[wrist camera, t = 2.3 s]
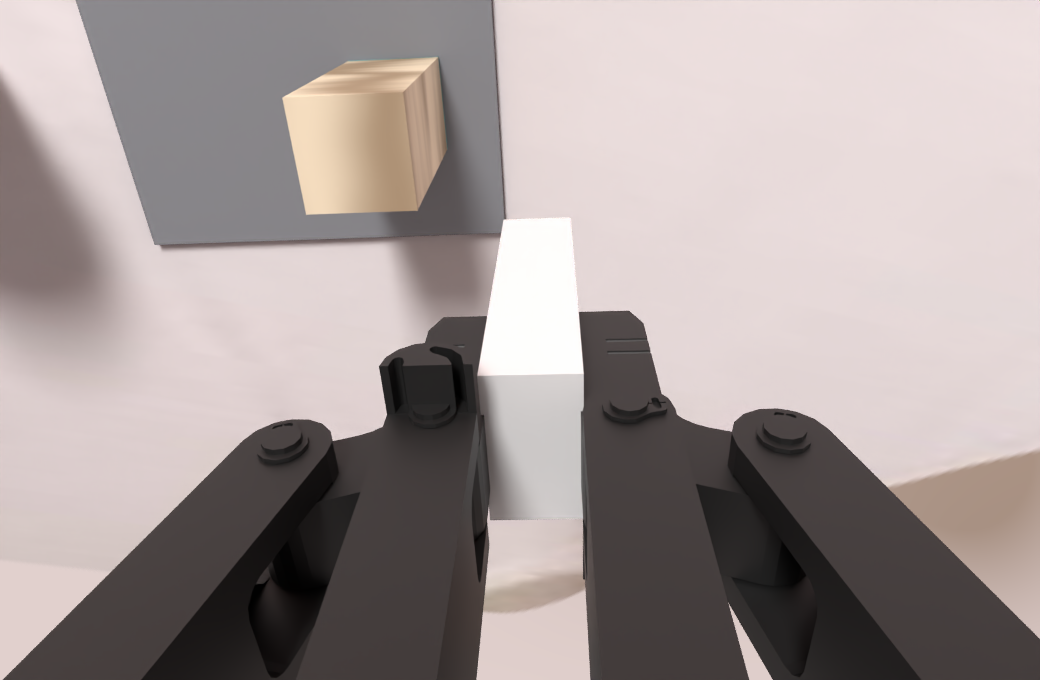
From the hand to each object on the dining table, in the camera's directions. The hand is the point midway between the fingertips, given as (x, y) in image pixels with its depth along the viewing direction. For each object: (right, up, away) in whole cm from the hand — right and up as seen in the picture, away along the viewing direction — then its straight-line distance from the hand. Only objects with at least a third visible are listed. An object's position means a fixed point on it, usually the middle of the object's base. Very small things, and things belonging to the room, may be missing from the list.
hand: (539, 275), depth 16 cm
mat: (-12, +12, +19) cm, 25 cm away
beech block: (-7, +10, +19) cm, 23 cm away
